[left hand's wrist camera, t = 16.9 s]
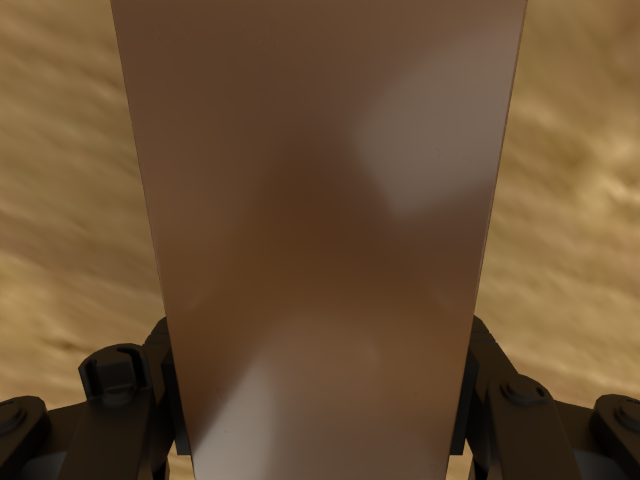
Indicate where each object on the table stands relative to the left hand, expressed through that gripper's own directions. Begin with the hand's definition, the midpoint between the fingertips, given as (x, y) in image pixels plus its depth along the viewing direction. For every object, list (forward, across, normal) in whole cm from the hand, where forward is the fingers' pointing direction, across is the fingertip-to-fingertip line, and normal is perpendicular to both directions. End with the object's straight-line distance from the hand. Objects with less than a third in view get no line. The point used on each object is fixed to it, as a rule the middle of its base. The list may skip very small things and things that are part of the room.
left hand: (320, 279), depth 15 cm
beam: (+1, 0, -29) cm, 29 cm away
